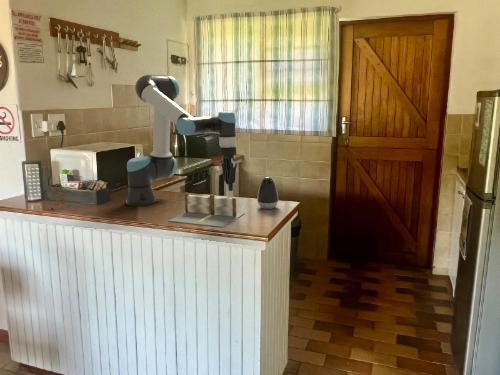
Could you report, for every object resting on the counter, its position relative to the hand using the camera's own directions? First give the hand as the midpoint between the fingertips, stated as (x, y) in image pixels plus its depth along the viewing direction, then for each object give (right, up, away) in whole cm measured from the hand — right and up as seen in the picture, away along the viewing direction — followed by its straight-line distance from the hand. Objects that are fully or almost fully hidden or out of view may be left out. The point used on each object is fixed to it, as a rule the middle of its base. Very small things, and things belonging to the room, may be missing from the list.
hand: (229, 197), depth 199 cm
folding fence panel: (-2, -8, -5) cm, 9 cm away
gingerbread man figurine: (-86, -6, +18) cm, 88 cm away
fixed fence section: (-14, -7, +1) cm, 16 cm away
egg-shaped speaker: (+18, -6, +9) cm, 21 cm away
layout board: (-10, -9, -6) cm, 15 cm away
